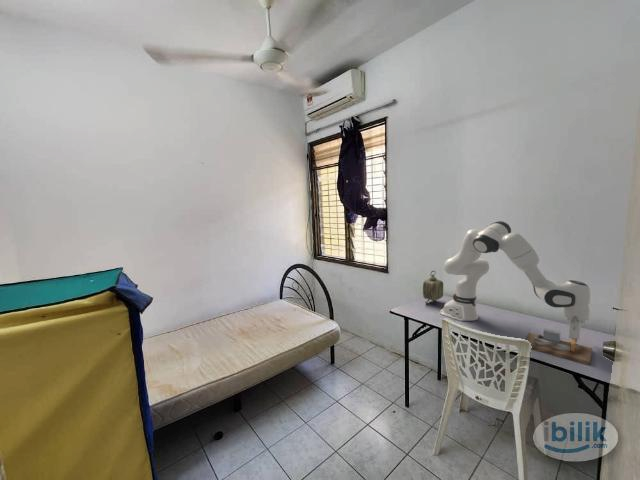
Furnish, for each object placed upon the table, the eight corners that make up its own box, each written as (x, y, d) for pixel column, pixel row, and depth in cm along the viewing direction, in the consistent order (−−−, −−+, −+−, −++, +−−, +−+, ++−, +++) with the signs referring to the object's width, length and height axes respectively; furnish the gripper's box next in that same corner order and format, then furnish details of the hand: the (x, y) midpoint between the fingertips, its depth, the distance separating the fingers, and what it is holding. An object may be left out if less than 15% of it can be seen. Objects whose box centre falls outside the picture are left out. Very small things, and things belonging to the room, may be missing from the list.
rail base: (522, 346, 134) (523, 339, 134) (529, 335, 145) (529, 328, 144) (590, 365, 117) (590, 356, 116) (591, 350, 127) (592, 343, 127)
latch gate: (570, 350, 125) (570, 343, 125) (571, 346, 129) (572, 338, 129) (574, 351, 124) (574, 344, 124) (575, 346, 128) (575, 339, 128)
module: (543, 343, 133) (543, 330, 132) (543, 341, 135) (544, 328, 134) (558, 347, 129) (559, 334, 128) (559, 345, 131) (560, 331, 130)
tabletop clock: (432, 299, 208) (432, 268, 205) (444, 301, 201) (444, 269, 198) (423, 304, 199) (422, 271, 196) (434, 307, 192) (434, 273, 189)
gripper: (584, 322, 119) (582, 351, 120) (586, 309, 132) (584, 335, 134) (565, 318, 123) (563, 346, 125) (569, 306, 137) (567, 331, 139)
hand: (574, 340), depth 129 cm, fingers closed
